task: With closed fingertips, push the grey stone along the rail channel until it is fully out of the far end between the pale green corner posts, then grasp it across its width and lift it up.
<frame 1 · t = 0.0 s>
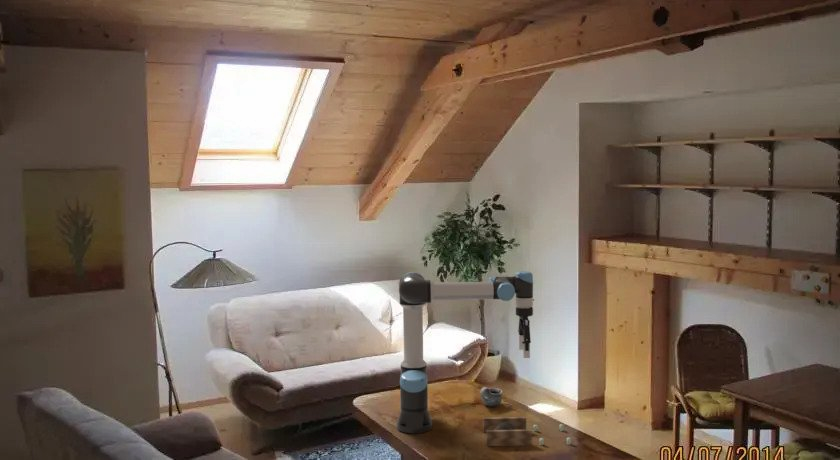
hand: (524, 353, 333), 28 cm above the table, fingers open, 13 cm apart
mug: (490, 406, 348), on the table
stone: (504, 439, 309), on the table
channel: (506, 438, 309), on the table
zone posts: (551, 437, 309), on the table
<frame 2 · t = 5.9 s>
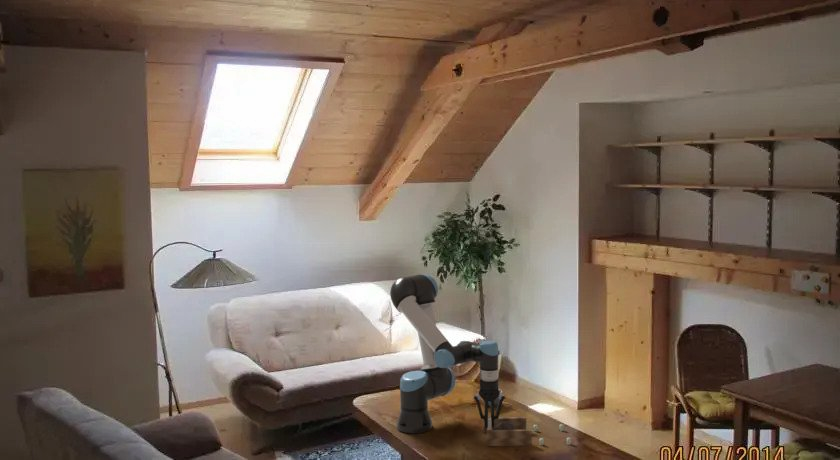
hand: (489, 434, 309), 2 cm above the table, fingers closed
stone: (503, 438, 309), on the table, touching gripper
everything else where it was.
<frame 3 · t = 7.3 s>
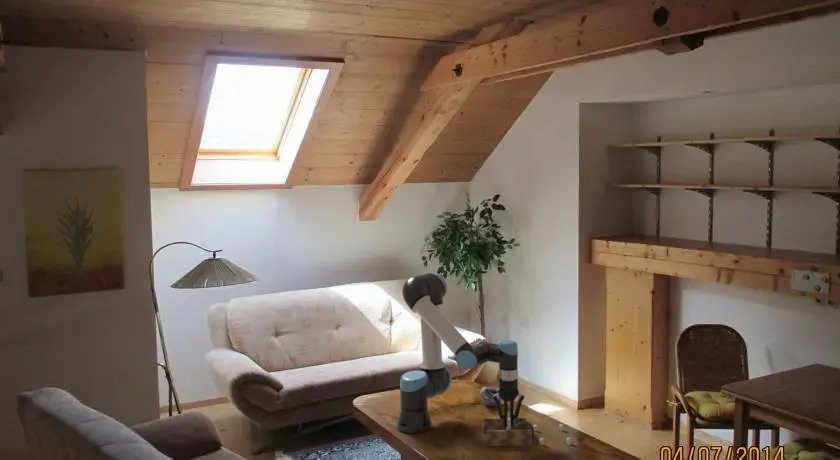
hand: (508, 434, 309), 2 cm above the table, fingers closed
stone: (522, 438, 309), on the table, touching gripper
everything else where it was.
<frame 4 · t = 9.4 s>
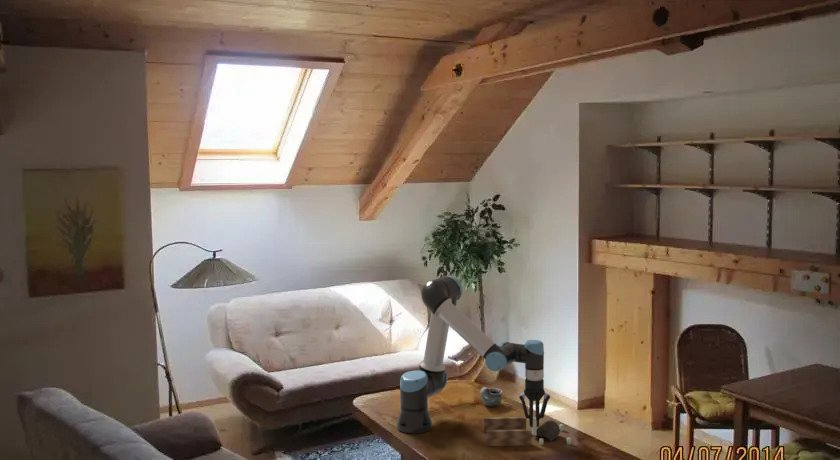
hand: (534, 434, 309), 1 cm above the table, fingers closed
stone: (547, 437, 309), on the table, touching gripper
everything else where it was.
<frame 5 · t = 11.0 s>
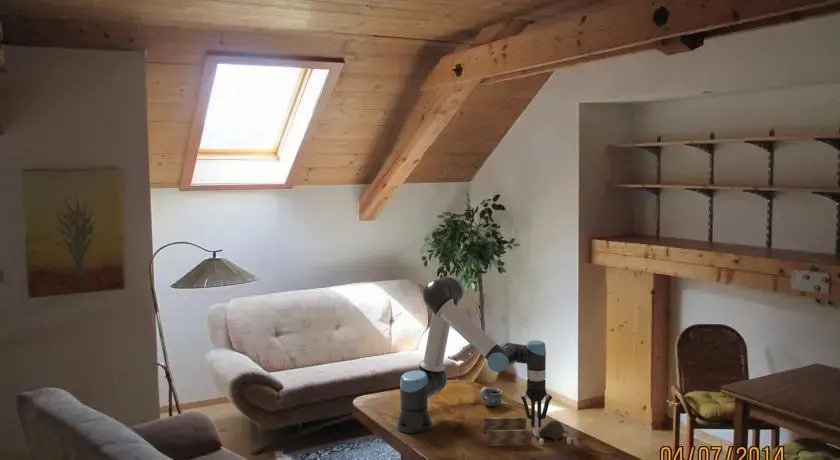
hand: (535, 434, 309), 1 cm above the table, fingers closed
stone: (552, 438, 309), on the table
everything else where it was.
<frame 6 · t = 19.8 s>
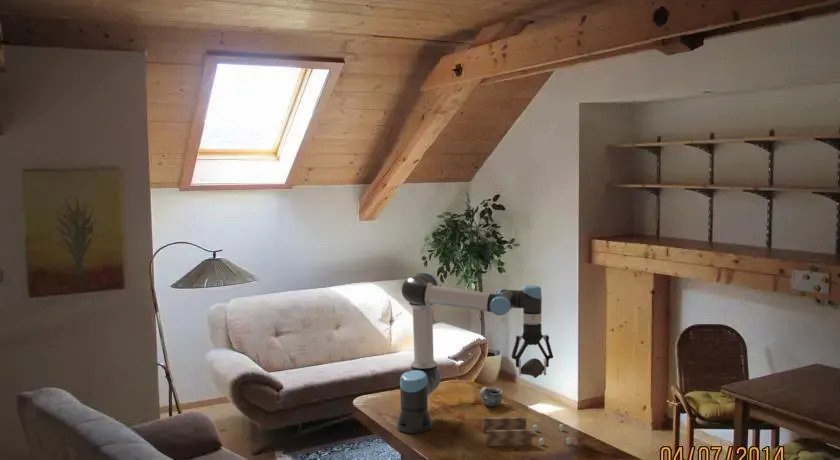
hand: (532, 374, 317), 24 cm above the table, fingers closed on stone, 10 cm apart
stone: (532, 375, 317), point 23 cm above the table, touching gripper
everything else where it was.
at the end: the gripper is holding stone; stone point 23.2 cm above the table; stone inside the target area (10.1 cm from its centre), point 23.2 cm above the table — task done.
